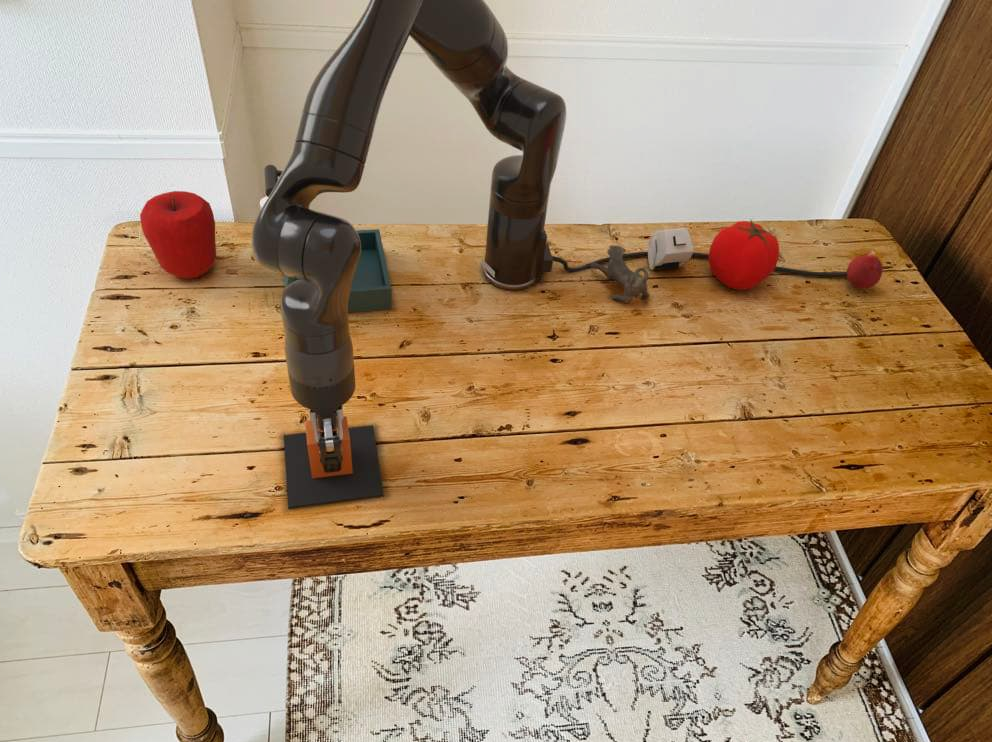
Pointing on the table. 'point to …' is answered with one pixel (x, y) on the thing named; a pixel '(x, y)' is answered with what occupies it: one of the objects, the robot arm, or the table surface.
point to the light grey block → (669, 248)
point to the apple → (180, 232)
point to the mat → (332, 487)
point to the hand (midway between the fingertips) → (331, 453)
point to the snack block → (315, 456)
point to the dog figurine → (624, 275)
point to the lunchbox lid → (270, 183)
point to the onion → (864, 271)
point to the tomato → (743, 255)
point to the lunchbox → (370, 276)
